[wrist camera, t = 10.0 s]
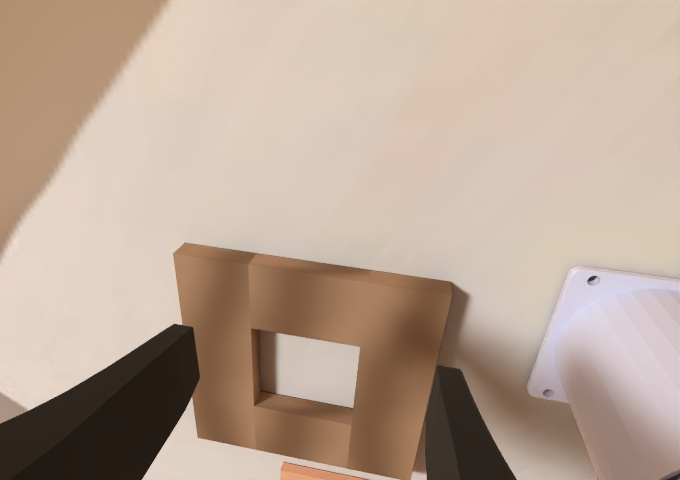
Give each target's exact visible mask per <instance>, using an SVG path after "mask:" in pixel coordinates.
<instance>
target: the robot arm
mask: <svg viewBox="0 0 680 480" xmlns="http://www.w3.org/2000/svg"><path fill="white" fill-rule="evenodd" d="M591 276H597V278H596V279H595V280H593V281H587V280H588V279H589V277H591ZM199 379H200V372H199V365H198V358H197V351H196V343H195V336H194V329H193V327H190V326H184V325H178V324H173V325H172V326H170V327H169V328H167V329H165V330H164V331H162V332H161V333H159V334H158V335H156V336H155V337H153V338H152V339H150V340H149V341H147V342H146V343H144V344H142V345H141V346H139V347H138V348H136V349H135V350H133V351H132V352H130V353H129V354H127V355H126V356H124V357H122V358H121V359H119V360H118V361H116V362H115V363H113V364H112V365H110V366H108V367H107V368H105V369H103V370H102V371H100V372H98V373H97V374H95V375H93V376H92V377H90V378H88V379H87V380H85V381H83V382H82V383H80V384H78V385H77V386H75V387H73V388H71V389H70V390H68V391H66V392H64V393H62V394H61V395H59V396H57V397H55V398H53V399H51V400H49V401H47V402H45V403H43V404H41V405H39V406H37V407H35V408H33V409H31V410H29V411H27V412H25V413H23V414H21V415H19V416H16V417H14V418H12V419H10V420H7V421H6V422H3V423H1V424H0V480H142V478H143V477H144V475H145V474H146V472H147V470H148V469H149V467H150V466H151V464H152V462H153V461H154V459H155V458H156V456H157V455H158V453H159V451H160V450H161V448H162V447H163V445H164V443H165V442H166V440H167V439H168V437H169V435H170V434H171V432H172V431H173V429H174V427H175V426H176V424H177V423H178V421H179V419H180V418H181V416H182V414H183V413H184V411H185V409H186V407H187V405H188V403H189V401H190V399H191V397H192V395H193V393H194V390H195V388H196V386H197V384H198V381H199ZM527 390H528V393H529V395H531V396H532V397H535V398H541V399H546V400H552V401H558V402H564V403H569V405H570V407H571V410H572V413H573V415H574V418H575V420H576V423H577V426H578V428H579V431H580V434H581V436H582V439H583V441H584V444H585V447H586V449H587V452H588V454H589V457H590V460H591V462H592V465H593V468H594V470H595V473H596V475H597V478H598V480H680V279H676V278H669V277H661V276H654V275H647V274H639V273H632V272H625V271H617V270H610V269H603V268H595V267H588V266H577V267H574V268H572V269H571V270H570V271H569V273H568V275H567V278H566V280H565V283H564V286H563V288H562V291H561V294H560V297H559V299H558V302H557V305H556V307H555V310H554V313H553V316H552V318H551V321H550V324H549V326H548V329H547V332H546V335H545V337H544V340H543V343H542V346H541V348H540V351H539V354H538V356H537V359H536V362H535V365H534V367H533V370H532V373H531V375H530V378H529V381H528V384H527ZM545 390H549V391H545ZM425 456H426V471H427V480H517V479H516V478H515V476H514V474H513V473H512V471H511V469H510V468H509V466H508V464H507V463H506V461H505V459H504V458H503V456H502V454H501V452H500V451H499V449H498V447H497V445H496V443H495V442H494V440H493V438H492V436H491V434H490V432H489V430H488V428H487V426H486V424H485V422H484V420H483V418H482V416H481V414H480V412H479V410H478V408H477V406H476V404H475V402H474V399H473V397H472V395H471V393H470V390H469V388H468V385H467V383H466V380H465V378H464V375H463V373H462V371H461V370H460V369H457V368H451V367H444V366H438V365H437V368H436V373H435V378H434V383H433V387H432V392H431V397H430V402H429V407H428V412H427V417H426V446H425Z"/></svg>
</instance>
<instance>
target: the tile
mask: <svg viewBox="0 0 680 480" xmlns="http://www.w3.org/2000/svg"><path fill="white" fill-rule="evenodd" d="M281 480H366V479H361V478H356V477H352V476H347V475H342V474H337V473H332V472H328V471H323V470H318V469H313V468H308V467H304V466H299V465H294V464H289V463H284V462H283V465H282V468H281Z"/></svg>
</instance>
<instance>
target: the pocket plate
mask: <svg viewBox="0 0 680 480" xmlns="http://www.w3.org/2000/svg"><path fill="white" fill-rule="evenodd" d="M173 256H174V263H175V271H176V278H177V286H178V293H179V301H180V308H181V316H182V323H183V325H184V326H190V327H193V329H194V336H195V343H196V351H197V358H198V365H199V372H200V379H199V381H198V384H197V386H196V388H195V390H194V393H193V395H192V398H193V405H194V413H195V420H196V428H197V435H198V438H202V439H207V440H212V441H217V442H221V443H226V444H231V445H236V446H241V447H246V448H251V449H255V450H260V451H265V452H270V453H275V454H280V455H284V456H289V457H294V458H299V459H304V460H309V461H314V462H318V463H323V464H328V465H333V466H338V467H343V468H347V469H352V470H357V471H362V472H367V473H372V474H377V475H381V476H386V477H391V478H396V479H401V480H411V475H412V471H413V466H414V462H415V458H416V453H417V449H418V444H419V440H420V435H421V431H422V427H423V422H424V418H425V413H426V409H427V404H428V400H429V396H430V391H431V387H432V382H433V378H434V374H435V369H436V365H437V360H438V356H439V351H440V347H441V343H442V338H443V334H444V329H445V325H446V320H447V316H448V312H449V307H450V303H451V298H452V289H451V282H448V281H441V280H434V279H427V278H421V277H414V276H407V275H400V274H393V273H386V272H380V271H373V270H366V269H359V268H352V267H346V266H339V265H332V264H325V263H318V262H311V261H305V260H298V259H291V258H284V257H277V256H271V255H264V254H257V253H250V252H243V251H236V250H230V249H223V248H216V247H209V246H202V245H196V244H189V243H184V244H183V245H182V246H181V247H180V248H179V249H178V250H177V251H175V252H174V253H173ZM259 330H264V331H270V332H276V333H282V334H288V335H294V336H300V337H306V338H311V339H317V340H323V341H329V342H335V343H341V344H347V345H353V346H359V347H360V355H359V364H358V372H357V381H356V390H355V399H354V408H353V409H352V408H347V407H342V406H336V405H331V404H326V403H320V402H315V401H310V400H304V399H299V398H294V397H289V396H283V395H278V394H273V393H267V392H262V391H261V386H260V353H259Z"/></svg>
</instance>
